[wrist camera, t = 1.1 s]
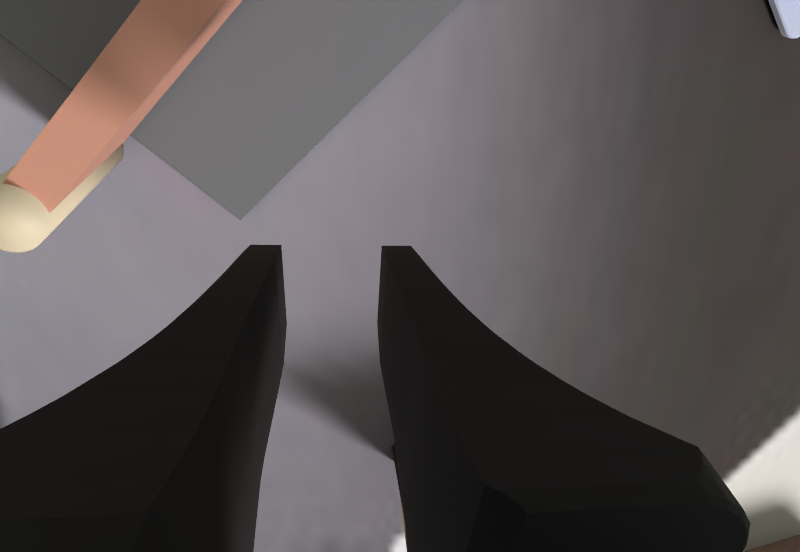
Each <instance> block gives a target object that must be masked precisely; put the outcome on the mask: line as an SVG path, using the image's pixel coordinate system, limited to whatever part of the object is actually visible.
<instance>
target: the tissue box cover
mask: <svg viewBox="0 0 800 552" xmlns="http://www.w3.org/2000/svg"><path fill="white" fill-rule="evenodd" d="M746 552H800V535H798V536H795V537H791V538H788V539H785V540H782V541H778V542H775V543H772V544H769V545H766V546H762V547H759V548H756V549H753V550H749V551H746Z"/></svg>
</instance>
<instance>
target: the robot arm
mask: <svg viewBox="0 0 800 552" xmlns="http://www.w3.org/2000/svg"><path fill="white" fill-rule="evenodd" d="M768 1H769V4H770V6H771V9H772V12H773V14H774V17H775V20H776V22H777V25H778V28H779V30H780V33H781V34H782V35H783V36H785V37H788V38H798V37H800V0H768ZM377 323H378V339H379V354H380V364H381V370H382V375H383V381H384V386H385V391H386V396H387V402H388V407H389V412H390V417H391V422H392V427H393V433H394V438H395V443H396V448H397V454H398V461H399V467H400V475H401V486H402V497H403V508H404V519H405V531H406V543H407V552H742V551H743V549H744V548H745V546H746V544H747V540H748V535H749V528H750V522H749V520H748V518H747V516H746V513H745V511H744V510H743V508H742V507H741V505H740V504H739V503H738V501H737V500H736V498H735V497H734V496H733V494H732V493H731V491H730V490H729V489H728V487H727V486H726V484H725V483H724V482H723V480H722V479H721V477H720V476H719V475H718V473H717V472H716V471H715V469H714V468H713V466H712V465H711V464H710V462H709V461H708V459H707V458H706V457H705V456H704V454H703V453H702V452H701V451H700V449H699V448H698V447H697V446H694V445H692V444H690V443H688V442H685V441H683V440H681V439H678V438H676V437H674V436H672V435H669V434H667V433H665V432H663V431H660V430H658V429H656V428H654V427H651V426H649V425H647V424H645V423H642V422H640V421H638V420H636V419H633V418H631V417H629V416H627V415H625V414H623V413H621V412H619V411H617V410H615V409H613V408H611V407H609V406H608V405H606V404H604V403H602V402H600V401H598V400H596V399H594V398H592V397H590V396H588V395H587V394H585V393H583V392H581V391H580V390H578V389H576V388H574V387H573V386H571V385H569V384H567V383H566V382H564V381H562V380H561V379H559V378H558V377H556V376H555V375H553V374H551V373H550V372H548V371H547V370H545V369H543V368H542V367H540V366H539V365H537V364H536V363H534V362H533V361H531V360H530V359H528V358H527V357H525V356H524V355H523V354H521V353H520V352H518V351H517V350H516V349H515V348H513V347H512V346H511V345H509V344H508V343H507V342H505V341H504V340H503V339H501V338H500V337H499V336H497V335H496V334H495V333H494V332H493V331H491V330H490V329H489V328H488V327H487V326H485V325H484V324H483V323H482V322H481V321H480V320H479V319H478V318H477V317H475V316H474V315H473V314H472V313H471V312H470V311H469V310H468V309H467V308H466V307H465V306H464V305H463V304H462V303H461V302H460V301H459V300H458V299H457V298H456V297H455V296H454V295H453V294H452V293H451V292H450V291H449V290H448V289H447V288H446V286H445V285H444V284H443V283H442V282H441V281H440V280H439V279H438V277H437V276H436V275H435V274H434V273H433V272H432V271H431V269H430V268H429V267H428V266H427V265H426V263H425V262H424V261H423V260H422V259H421V257H420V256H419V255H418V254H417V252H416V251H415V250H414V249H413V248H412V247H411V246H382V252H381V269H380V287H379V304H378V321H377ZM286 326H287V321H286V307H285V293H284V279H283V265H282V250H281V245H250V246H249V247H248V248H247V249H246V250H245V251H244V252H243V253H242V254H241V255H240V256H239V257H238V258H237V259H236V260H235V261H234V263H233V264H232V265H231V266H230V267H229V268H228V269H227V270H226V271H225V272H224V273H223V274H222V275H221V276H220V277H219V278H218V280H217V281H216V282H214V283H213V284H212V285H211V286H210V287H209V288H208V289H207V290H206V291H205V292H204V293H203V294H202V295H201V296H200V297H199V298H198V299H197V300H196V301H195V302H194V303H193V304H192V305H191V306H190V307H189V308H187V309H186V310H185V311H184V312H183V313H182V314H181V315H180V316H178V317H177V318H176V319H175V320H174V321H173V322H172V323H170V324H169V325H168V326H167V327H166V328H165V329H163V330H162V331H161V332H159V333H158V334H157V335H156V336H154V337H153V338H152V339H150V340H149V341H148V342H146V343H145V344H143V345H142V346H141V347H139V348H138V349H136V350H135V351H134V352H132V353H131V354H130V355H128V356H127V357H125V358H124V359H122V360H121V361H119V362H118V363H116V364H115V365H113V366H112V367H110V368H108V369H107V370H105V371H103V372H102V373H100V374H98V375H97V376H95V377H94V378H92V379H90V380H89V381H87V382H85V383H84V384H82V385H81V386H79V387H77V388H76V389H74V390H72V391H71V392H69V393H67V394H66V395H64V396H62V397H60V398H59V399H57V400H55V401H53V402H51V403H49V404H48V405H46V406H44V407H42V408H40V409H38V410H37V411H35V412H33V413H31V414H29V415H27V416H25V417H23V418H21V419H19V420H17V421H15V422H13V423H11V424H9V425H7V426H5V427H3V428H1V429H0V552H253V549H254V538H255V528H256V519H257V509H258V499H259V490H260V480H261V474H262V468H263V462H264V456H265V451H266V447H267V442H268V437H269V432H270V427H271V423H272V418H273V413H274V408H275V404H276V399H277V394H278V389H279V384H280V379H281V374H282V369H283V364H284V352H285V339H286Z"/></svg>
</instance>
